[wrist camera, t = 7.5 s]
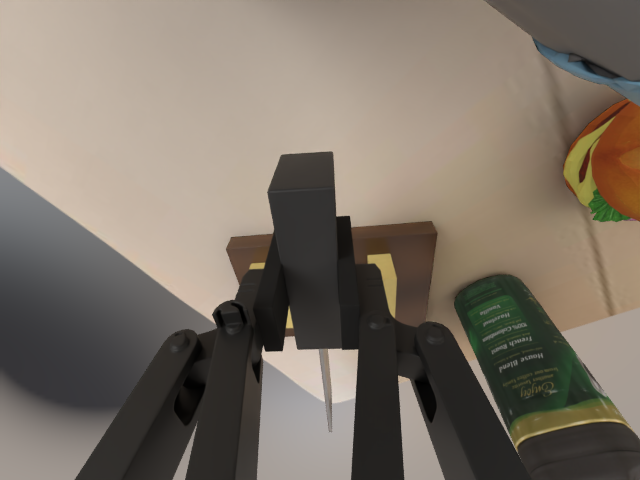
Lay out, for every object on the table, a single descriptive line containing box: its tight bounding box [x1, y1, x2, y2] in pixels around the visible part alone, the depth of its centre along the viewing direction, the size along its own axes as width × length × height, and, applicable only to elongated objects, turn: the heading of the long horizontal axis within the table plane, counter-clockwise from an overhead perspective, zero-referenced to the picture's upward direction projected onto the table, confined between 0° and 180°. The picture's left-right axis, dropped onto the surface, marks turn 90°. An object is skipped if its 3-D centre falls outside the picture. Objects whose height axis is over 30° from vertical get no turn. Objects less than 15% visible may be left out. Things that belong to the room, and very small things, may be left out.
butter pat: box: [367, 254, 397, 318], centre depth 29 cm, size 6×2×4 cm, turn 7°
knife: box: [267, 152, 342, 432], centre depth 19 cm, size 22×3×4 cm, turn 4°
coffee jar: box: [454, 275, 640, 480], centre depth 27 cm, size 10×8×19 cm
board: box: [226, 221, 437, 337], centre depth 33 cm, size 14×20×2 cm
